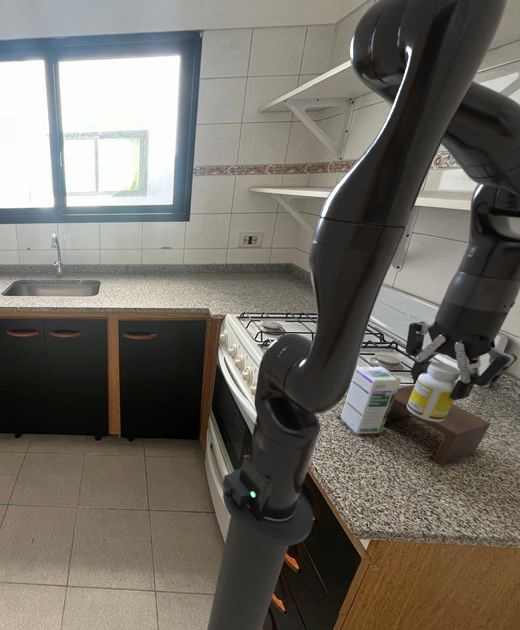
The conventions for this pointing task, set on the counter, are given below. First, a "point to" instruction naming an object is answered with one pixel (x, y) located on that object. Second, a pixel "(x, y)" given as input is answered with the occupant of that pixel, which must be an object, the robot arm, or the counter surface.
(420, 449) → the counter surface
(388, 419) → the brown wooden arch block
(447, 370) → the supplement bottle
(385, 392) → the syrup box
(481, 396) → the counter surface
